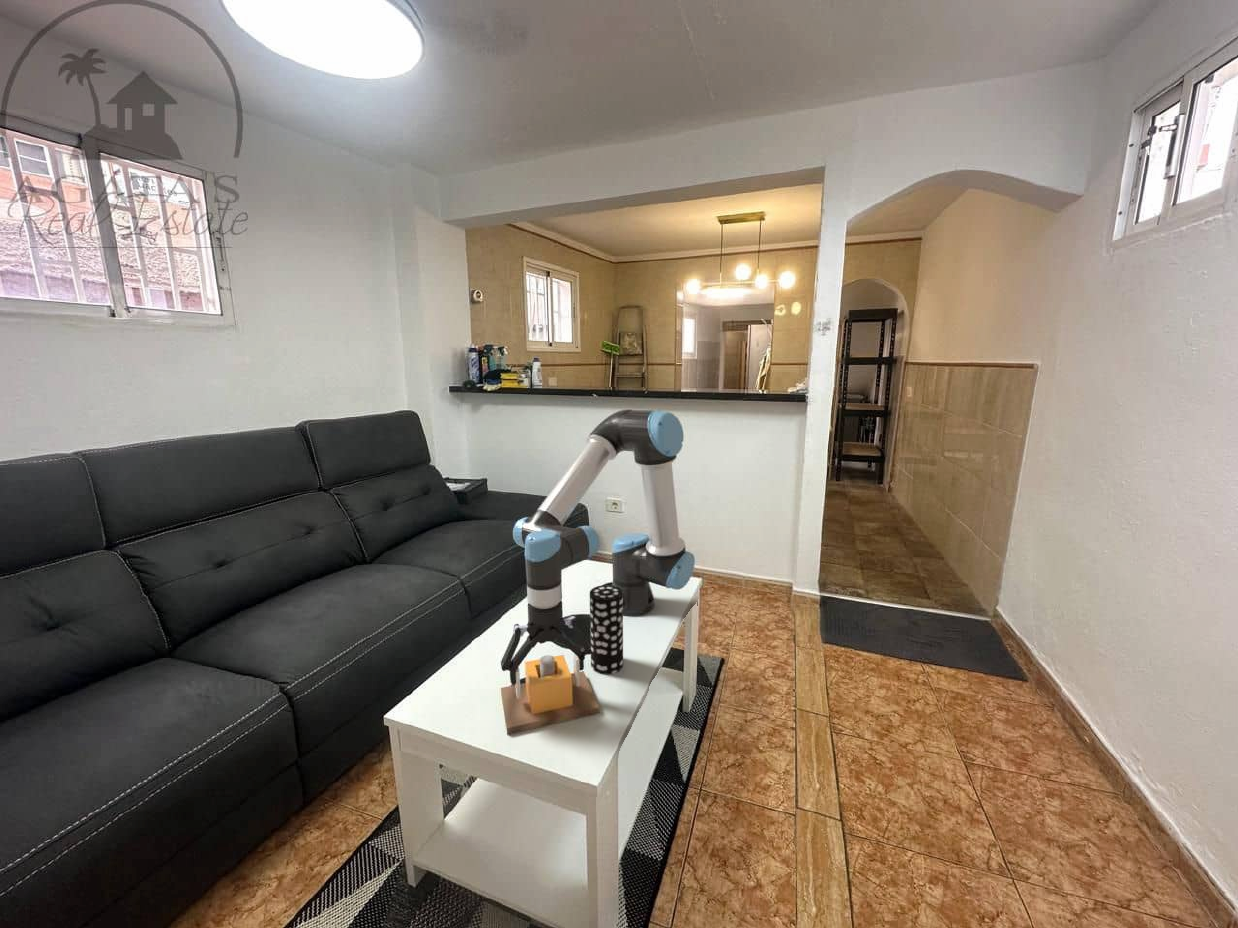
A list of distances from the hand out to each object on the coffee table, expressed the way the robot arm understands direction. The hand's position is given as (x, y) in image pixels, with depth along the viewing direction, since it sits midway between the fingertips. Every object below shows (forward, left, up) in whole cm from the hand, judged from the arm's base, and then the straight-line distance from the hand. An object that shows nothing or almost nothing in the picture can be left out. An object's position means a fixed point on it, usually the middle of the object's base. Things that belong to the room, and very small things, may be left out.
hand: (548, 688), depth 111 cm
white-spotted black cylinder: (-17, -10, -4) cm, 20 cm away
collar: (0, 0, -2) cm, 2 cm away
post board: (0, 0, -4) cm, 4 cm away
